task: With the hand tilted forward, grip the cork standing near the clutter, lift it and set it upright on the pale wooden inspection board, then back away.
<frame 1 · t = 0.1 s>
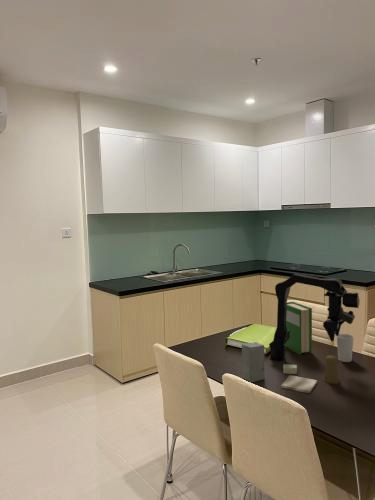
hand: (334, 338, 187), 15 cm above the table, tool pointing down, fingers open, 9 cm apart
inspection board: (299, 384, 171), on the table
cup: (344, 359, 199), on the table
soap bar: (290, 372, 186), on the table
hardback book: (296, 349, 217), on the table
cork: (331, 381, 175), on the table
skincare box: (253, 378, 179), on the table
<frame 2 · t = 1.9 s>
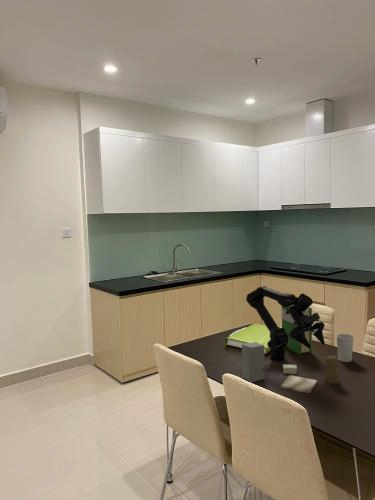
hand: (317, 346, 180), 13 cm above the table, tool tilted 45°, fingers open, 9 cm apart
nothing on the table moved.
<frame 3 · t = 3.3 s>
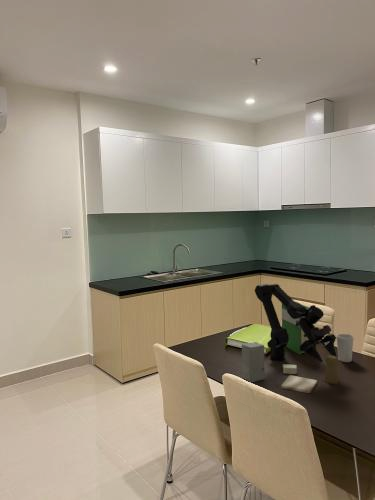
hand: (328, 359, 175), 9 cm above the table, tool tilted 45°, fingers open, 9 cm apart
nothing on the table moved.
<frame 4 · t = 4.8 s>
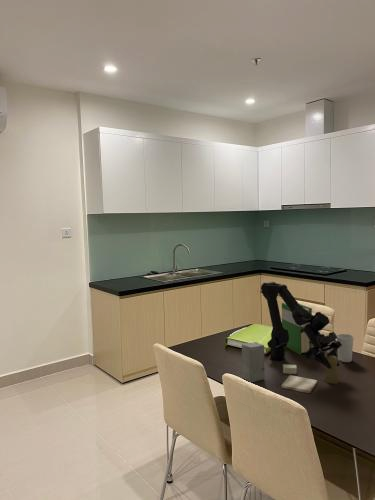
hand: (334, 367, 173), 7 cm above the table, tool tilted 45°, fingers closed on cork, 5 cm apart
cork: (331, 381, 175), on the table, touching gripper
everything else where it was.
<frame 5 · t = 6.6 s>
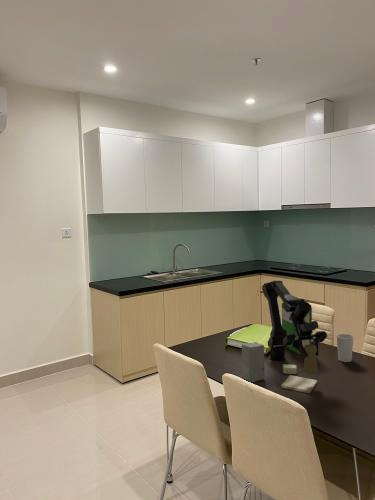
hand: (311, 356, 168), 13 cm above the table, tool tilted 45°, fingers closed on cork, 5 cm apart
cork: (310, 370, 170), point 6 cm above the table, touching gripper
everything else where it was.
when the fingers open (9 cm above the table, at t = 8.3 s): cork drops 1 cm, resting on inspection board.
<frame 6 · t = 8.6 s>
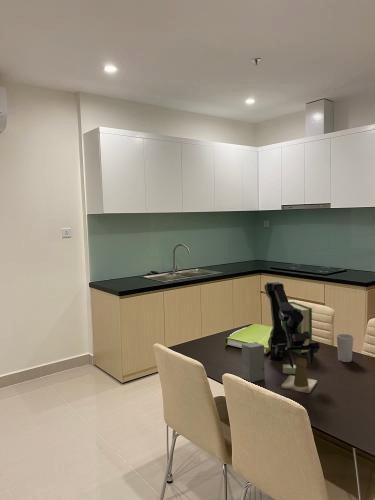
hand: (302, 367, 168), 9 cm above the table, tool tilted 45°, fingers open, 8 cm apart
cork: (301, 384, 170), point 1 cm above the table, touching inspection board
everything else where it was.
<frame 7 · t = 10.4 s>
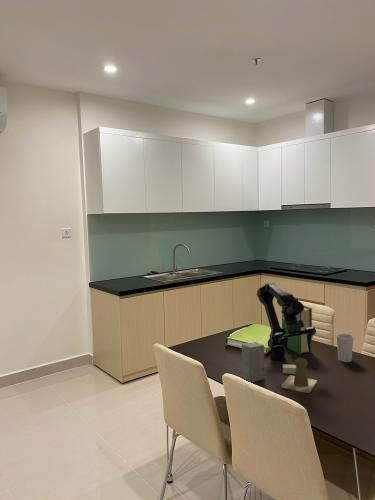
hand: (299, 352, 179), 11 cm above the table, tool tilted 30°, fingers open, 9 cm apart
nothing on the table moved.
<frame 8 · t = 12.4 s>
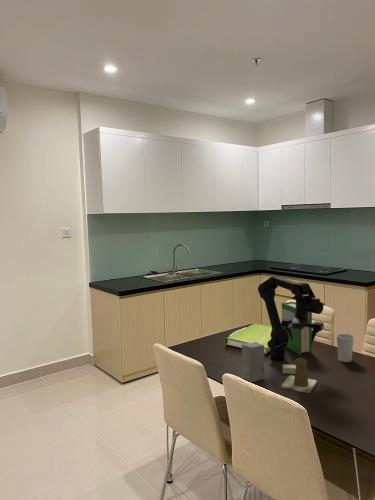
hand: (302, 342, 187), 13 cm above the table, tool pointing down, fingers open, 9 cm apart
nothing on the table moved.
at the end: cork inside the target area on the inspection board (1.3 cm from its centre), point 0.8 cm above the inspection board's base; cork tilted 0°; the gripper is holding nothing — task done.
